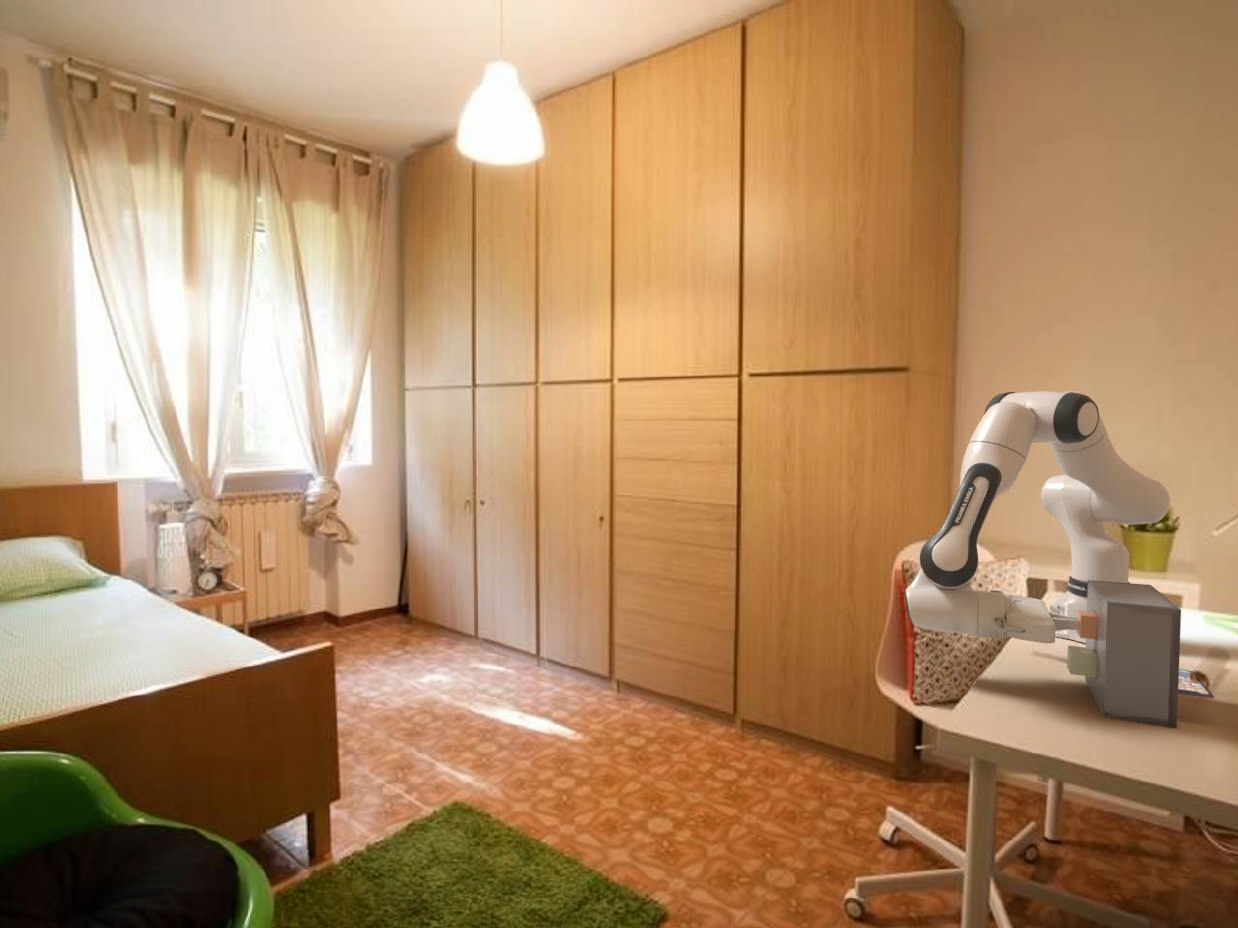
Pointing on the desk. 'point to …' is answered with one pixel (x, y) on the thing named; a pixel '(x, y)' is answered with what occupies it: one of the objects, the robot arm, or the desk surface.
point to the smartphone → (1190, 686)
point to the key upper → (1088, 624)
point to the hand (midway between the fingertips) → (1078, 623)
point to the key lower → (1082, 661)
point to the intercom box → (1135, 653)
